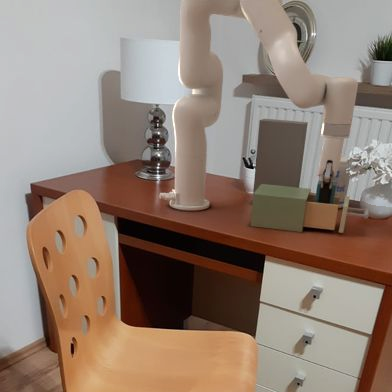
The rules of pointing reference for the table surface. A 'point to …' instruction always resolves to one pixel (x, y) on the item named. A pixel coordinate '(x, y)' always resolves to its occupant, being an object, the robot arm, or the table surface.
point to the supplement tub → (341, 181)
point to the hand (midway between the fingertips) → (324, 199)
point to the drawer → (328, 213)
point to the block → (331, 193)
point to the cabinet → (279, 207)
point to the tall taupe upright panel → (279, 153)
